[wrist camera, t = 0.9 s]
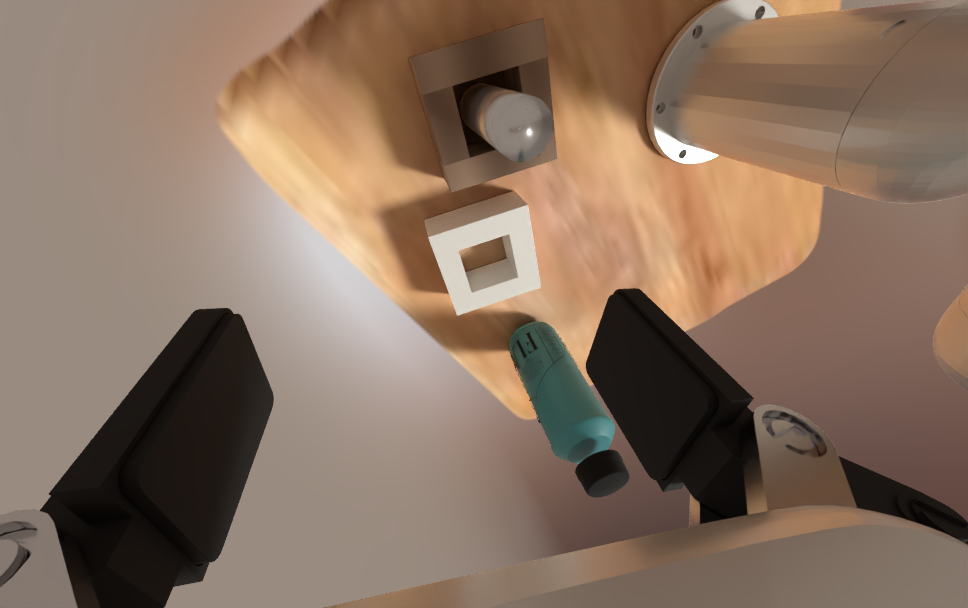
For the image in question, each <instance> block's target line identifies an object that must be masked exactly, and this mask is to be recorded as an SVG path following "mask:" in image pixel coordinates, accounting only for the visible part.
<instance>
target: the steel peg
mask: <svg viewBox="0 0 968 608" xmlns="http://www.w3.org/2000/svg"><path fill="white" fill-rule="evenodd" d="M460 112H461V116H462V119H463V121H464V122H465V124H466V125H467V126H468V127H469V128H471V129H472V130H473V131H474V132H476V133H477V134H478V135H479V136H481V137H482V138H483V139H484V140H486V141H487V142H488V143H489V144H491V145H492V146H493V147H494V148H496V149H497V150H498V151H499V152H500V153H502V154H503V155H504V156H505V157H507V158H508V159H510V160H512V161H515V162H526V161H530V160H532V159H534V158H536V157H537V156H539V155H540V154H541V153H542V152H543V151H544V149H545V148H546V146H547V145H548V143H549V141H550V138H551V135H552V128H553V121H552V116H551V113H550V110H549V108H548V107H547V105H546V104H545V103H544V102H543V101H542V100H541V99H539V98H537V97H535V96H531V95H527V94H523V93H519V92H515V91H511V90H507V89H503V88H499V87H495V86H492V85H488V84H483V83H478V84H475V85H472V86H471V87H469V88H468V89H467V90H466V91H465V93H464V94H463V96H462V99H461V103H460Z"/></svg>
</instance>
